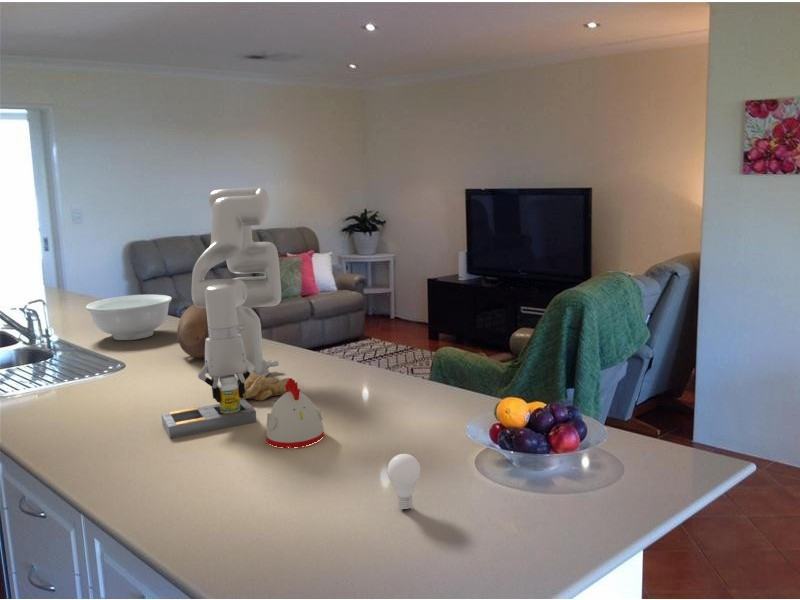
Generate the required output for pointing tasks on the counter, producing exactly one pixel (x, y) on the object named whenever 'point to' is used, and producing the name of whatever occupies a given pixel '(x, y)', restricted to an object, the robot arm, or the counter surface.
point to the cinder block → (205, 419)
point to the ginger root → (263, 387)
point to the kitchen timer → (294, 420)
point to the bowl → (130, 315)
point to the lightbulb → (404, 477)
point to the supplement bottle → (229, 394)
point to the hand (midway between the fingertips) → (229, 398)
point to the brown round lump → (193, 331)
